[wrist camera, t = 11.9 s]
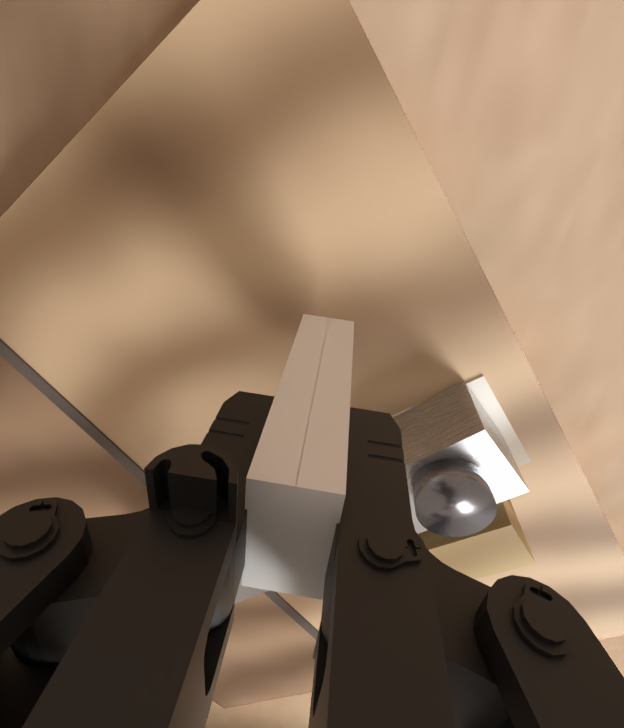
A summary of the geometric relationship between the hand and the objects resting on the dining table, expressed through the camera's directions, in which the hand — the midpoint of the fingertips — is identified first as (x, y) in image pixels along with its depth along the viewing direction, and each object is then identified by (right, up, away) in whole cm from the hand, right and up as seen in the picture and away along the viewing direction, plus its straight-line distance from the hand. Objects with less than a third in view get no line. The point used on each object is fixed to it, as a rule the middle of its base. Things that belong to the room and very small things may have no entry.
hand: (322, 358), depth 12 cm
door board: (-4, -7, +9) cm, 12 cm away
